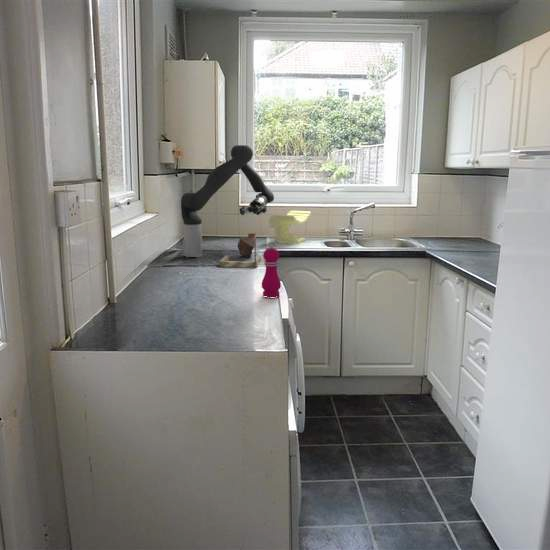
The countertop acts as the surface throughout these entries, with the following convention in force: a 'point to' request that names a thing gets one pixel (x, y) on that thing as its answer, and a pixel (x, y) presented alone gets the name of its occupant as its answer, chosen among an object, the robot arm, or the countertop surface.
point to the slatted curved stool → (284, 222)
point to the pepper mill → (271, 273)
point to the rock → (245, 246)
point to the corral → (227, 263)
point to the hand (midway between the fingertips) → (249, 213)
